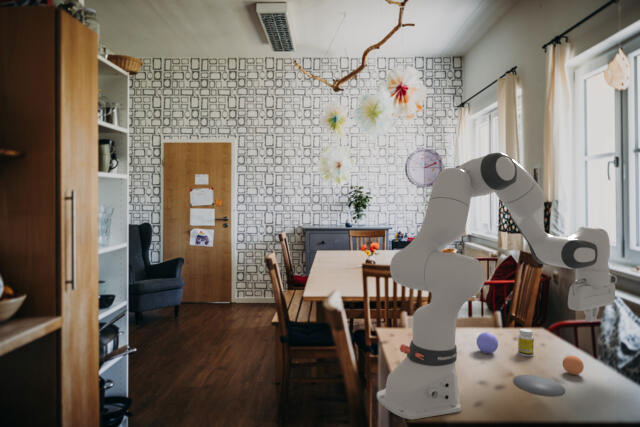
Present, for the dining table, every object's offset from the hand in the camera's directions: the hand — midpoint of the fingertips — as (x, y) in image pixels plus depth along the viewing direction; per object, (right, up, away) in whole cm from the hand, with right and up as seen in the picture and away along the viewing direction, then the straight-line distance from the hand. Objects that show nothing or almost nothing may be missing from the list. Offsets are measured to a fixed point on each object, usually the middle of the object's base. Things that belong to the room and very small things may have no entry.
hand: (590, 321), depth 126 cm
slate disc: (-24, -15, -12) cm, 31 cm away
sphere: (-28, -15, +13) cm, 34 cm away
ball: (-8, -12, -4) cm, 16 cm away
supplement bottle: (-15, -15, +12) cm, 24 cm away
